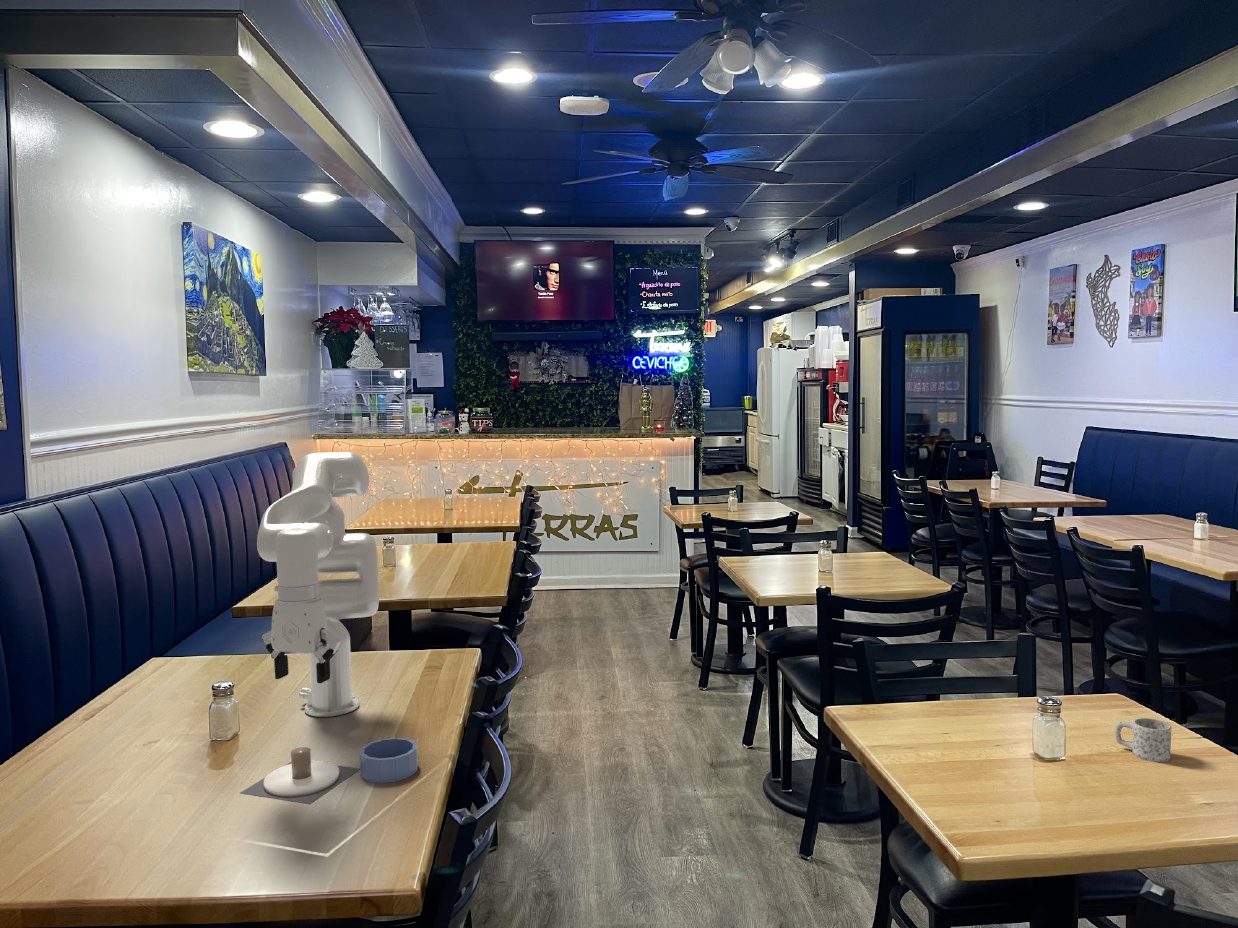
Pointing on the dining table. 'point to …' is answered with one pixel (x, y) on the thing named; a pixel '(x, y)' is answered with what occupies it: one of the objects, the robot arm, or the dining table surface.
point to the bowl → (388, 760)
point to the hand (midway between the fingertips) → (302, 679)
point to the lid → (301, 775)
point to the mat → (307, 799)
